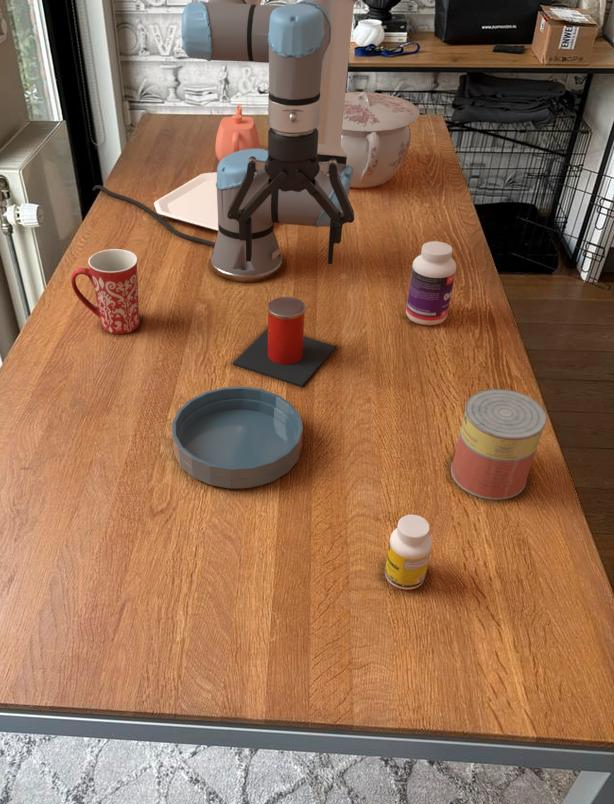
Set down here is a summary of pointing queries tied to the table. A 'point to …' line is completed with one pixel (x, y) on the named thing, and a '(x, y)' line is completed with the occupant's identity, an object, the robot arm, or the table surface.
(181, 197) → the plate
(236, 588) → the table surface
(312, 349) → the mat
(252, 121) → the teapot
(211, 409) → the dish
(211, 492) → the table surface
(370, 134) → the chamber pot
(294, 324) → the tin can
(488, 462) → the canned food
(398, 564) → the supplement bottle
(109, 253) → the mug
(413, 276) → the pill bottle
